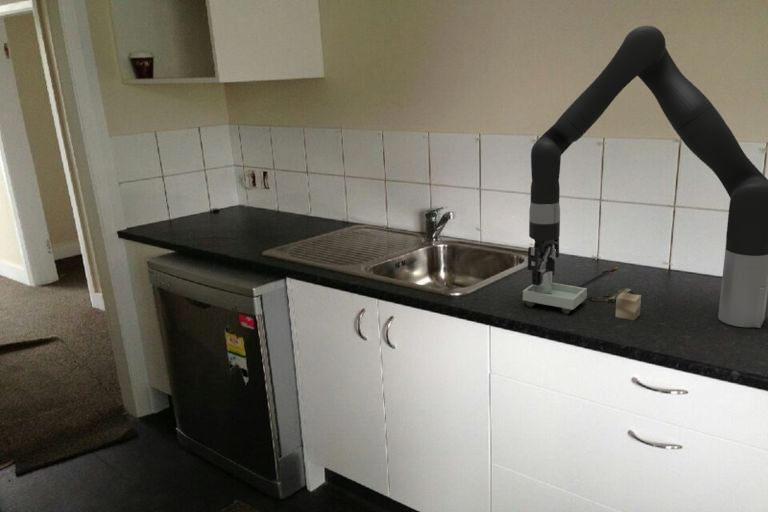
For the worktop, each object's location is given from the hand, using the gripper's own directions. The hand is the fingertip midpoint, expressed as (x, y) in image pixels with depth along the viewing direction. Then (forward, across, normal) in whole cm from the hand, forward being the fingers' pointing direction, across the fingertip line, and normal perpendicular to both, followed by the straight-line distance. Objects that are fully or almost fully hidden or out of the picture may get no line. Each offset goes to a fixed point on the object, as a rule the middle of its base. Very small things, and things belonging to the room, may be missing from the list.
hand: (543, 280), depth 167 cm
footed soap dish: (+6, 0, -3) cm, 7 cm away
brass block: (+6, +2, -21) cm, 22 cm away
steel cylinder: (+4, 0, 0) cm, 4 cm away
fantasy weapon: (+7, +22, -11) cm, 25 cm away
